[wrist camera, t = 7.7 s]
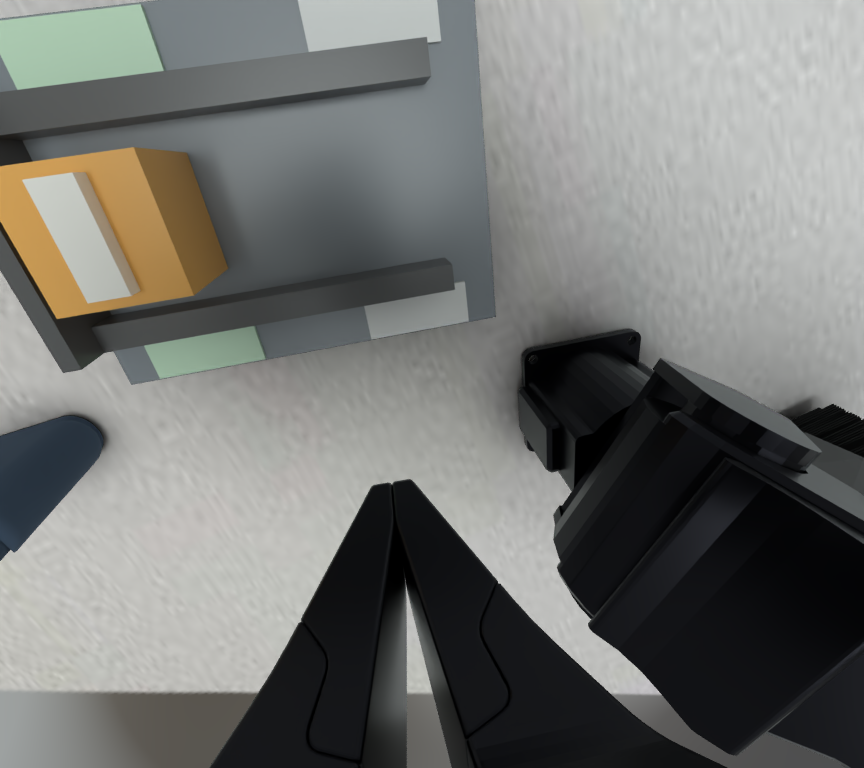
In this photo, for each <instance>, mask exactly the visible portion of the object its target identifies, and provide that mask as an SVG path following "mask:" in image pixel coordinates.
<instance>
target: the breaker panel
mask: <svg viewBox="0 0 864 768" xmlns="http://www.w3.org/2000/svg"><path fill="white" fill-rule="evenodd" d="M131 147H136V148H146V149H156V150H166V151H176V152H186V153H187V155H188V157H189V160H190V163H191V166H192V168H193V171H194V174H195V177H196V180H197V182H198V185H199V188H200V191H201V194H202V196H203V199H204V202H205V205H206V208H207V210H208V213H209V216H210V219H211V222H212V224H213V227H214V230H215V233H216V235H217V238H218V241H219V244H220V247H221V249H222V252H223V255H224V258H225V261H226V263H227V266H228V269H227V270H226V271H225V272H223V273H222V274H221V275H220V276H218V277H217V278H216V279H214V280H213V281H212V282H211V283H209V284H208V285H207V286H205V287H204V288H203V289H202V290H200V291H199V292H198V293H197V294H195V295H194V296H188V297H182V298H177V299H171V300H165V301H159V302H153V303H148V304H142V305H136V306H130V307H124V308H118V309H113V310H107V311H101V312H95V313H89V314H84V315H78V316H72V317H66V318H60V319H57V318H56V317H55V315H54V313H53V311H52V310H51V308H50V306H49V305H48V303H47V301H46V299H45V298H44V296H43V294H42V292H41V291H40V289H39V287H38V286H37V284H36V282H35V280H34V279H33V277H32V275H31V273H30V272H29V270H28V268H27V267H26V265H25V263H24V261H23V260H22V258H21V256H20V255H19V253H18V251H17V249H16V248H15V246H14V244H13V242H12V241H11V239H10V237H9V236H8V234H7V232H6V230H5V229H4V227H3V225H2V223H1V222H0V271H1V272H2V274H3V275H4V277H5V279H6V280H7V282H8V284H9V285H10V287H11V289H12V290H13V292H14V293H15V295H16V297H17V298H18V300H19V302H20V303H21V305H22V307H23V308H24V310H25V311H26V313H27V315H28V316H29V318H30V320H31V321H32V323H33V325H34V326H35V328H36V329H37V331H38V333H39V334H40V336H41V338H42V339H43V341H44V343H45V344H46V346H47V347H48V349H49V351H50V352H51V354H52V356H53V357H54V359H55V361H56V362H57V364H58V365H59V367H60V369H61V370H62V372H63V373H65V372H71V371H76V370H82V369H83V368H84V367H86V366H87V365H88V364H90V363H91V362H93V361H94V360H95V359H97V358H98V357H99V356H101V355H102V354H103V353H106V352H112V351H114V353H115V355H116V357H117V359H118V360H119V362H120V364H121V366H122V368H123V370H124V372H125V374H126V375H127V377H128V379H129V381H130V383H131V385H133V384H138V383H144V382H149V381H154V380H160V379H165V378H171V377H176V376H181V375H187V374H192V373H197V372H203V371H208V370H213V369H219V368H224V367H229V366H235V365H240V364H246V363H251V362H256V361H262V360H267V359H272V358H278V357H283V356H288V355H294V354H299V353H305V352H310V351H315V350H321V349H326V348H331V347H337V346H342V345H347V344H353V343H358V342H364V341H369V340H374V339H380V338H385V337H390V336H396V335H401V334H406V333H412V332H417V331H423V330H428V329H433V328H439V327H444V326H449V325H455V324H460V323H465V322H471V321H476V320H482V319H487V318H492V317H496V313H495V298H494V283H493V268H492V253H491V238H490V223H489V208H488V193H487V179H486V164H485V149H484V134H483V119H482V104H481V89H480V74H479V59H478V44H477V29H476V14H475V0H156V1H147V2H139V3H130V4H122V5H113V6H105V7H96V8H87V9H79V10H70V11H62V12H53V13H45V14H36V15H27V16H19V17H10V18H2V19H0V166H5V165H12V164H19V163H26V162H33V161H40V160H47V159H54V158H61V157H68V156H75V155H82V154H89V153H96V152H103V151H110V150H117V149H124V148H131Z"/></svg>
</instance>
